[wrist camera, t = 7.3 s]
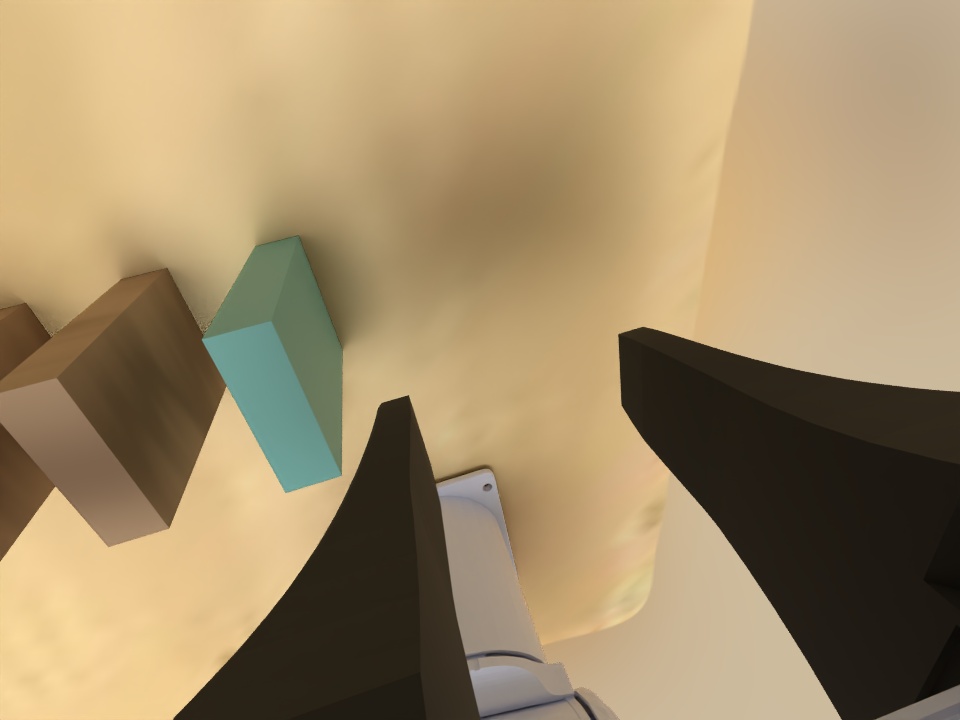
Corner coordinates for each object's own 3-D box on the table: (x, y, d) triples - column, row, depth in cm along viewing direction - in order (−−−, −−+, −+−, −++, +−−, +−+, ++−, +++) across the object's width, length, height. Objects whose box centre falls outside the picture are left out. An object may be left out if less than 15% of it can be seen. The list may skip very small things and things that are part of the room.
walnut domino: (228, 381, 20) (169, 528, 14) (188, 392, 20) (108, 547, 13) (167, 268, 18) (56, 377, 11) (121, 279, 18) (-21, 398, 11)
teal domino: (342, 350, 21) (341, 475, 14) (305, 360, 21) (285, 493, 14) (298, 235, 18) (271, 321, 12) (255, 246, 18) (201, 339, 11)
